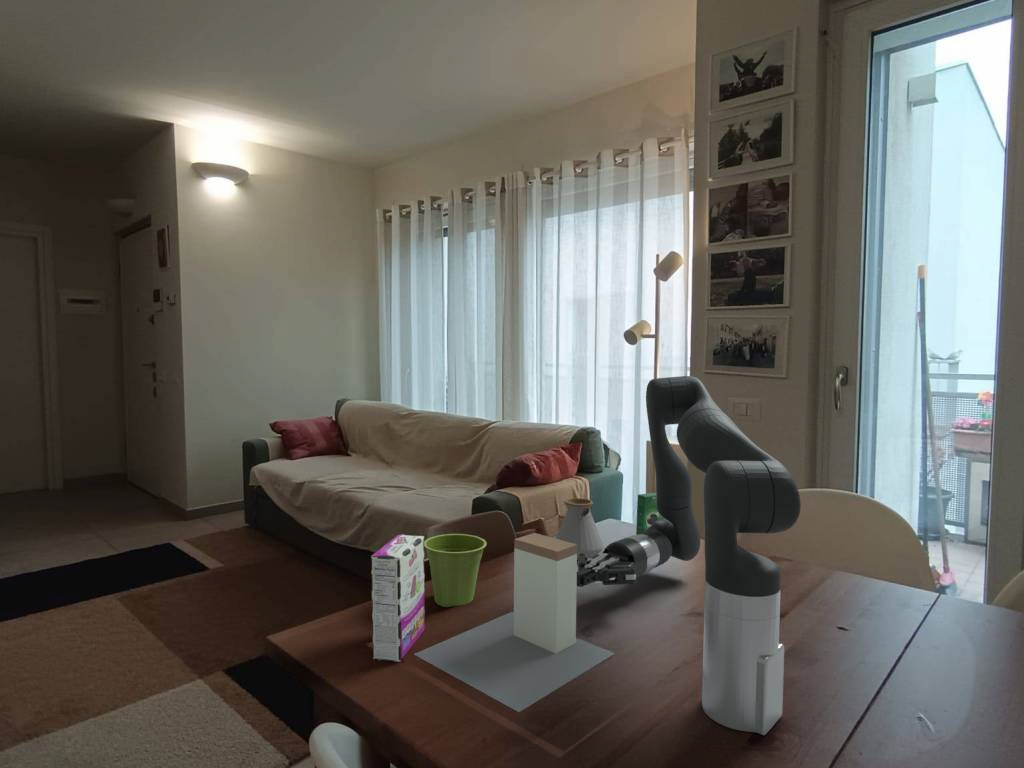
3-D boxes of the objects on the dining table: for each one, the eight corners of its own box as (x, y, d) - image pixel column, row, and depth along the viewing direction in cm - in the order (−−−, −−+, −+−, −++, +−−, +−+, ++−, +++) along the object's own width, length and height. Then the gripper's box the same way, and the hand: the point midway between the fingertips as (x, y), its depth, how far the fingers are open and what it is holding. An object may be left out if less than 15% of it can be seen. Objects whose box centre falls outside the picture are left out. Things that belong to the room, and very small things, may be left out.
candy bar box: (397, 628, 105) (397, 533, 104) (425, 631, 104) (426, 535, 103) (369, 660, 94) (369, 554, 93) (400, 664, 93) (400, 556, 92)
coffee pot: (551, 548, 150) (552, 486, 149) (599, 548, 150) (600, 487, 149) (558, 580, 128) (559, 508, 128) (614, 580, 128) (615, 509, 128)
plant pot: (471, 618, 110) (472, 555, 109) (411, 608, 113) (412, 548, 113) (495, 593, 121) (495, 536, 120) (439, 586, 125) (440, 530, 124)
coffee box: (658, 542, 155) (660, 490, 154) (667, 545, 153) (668, 492, 152) (634, 547, 151) (636, 494, 150) (643, 550, 148) (644, 496, 148)
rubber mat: (615, 657, 96) (615, 653, 96) (518, 716, 80) (518, 712, 80) (511, 614, 111) (511, 611, 111) (413, 658, 95) (413, 654, 95)
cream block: (575, 642, 99) (577, 544, 99) (555, 653, 96) (557, 551, 95) (533, 625, 106) (534, 532, 105) (513, 635, 102) (514, 539, 101)
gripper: (603, 530, 123) (547, 550, 111) (662, 545, 114) (609, 568, 102) (602, 568, 124) (546, 591, 111) (661, 585, 115) (608, 613, 102)
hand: (576, 580), depth 106 cm, fingers closed
